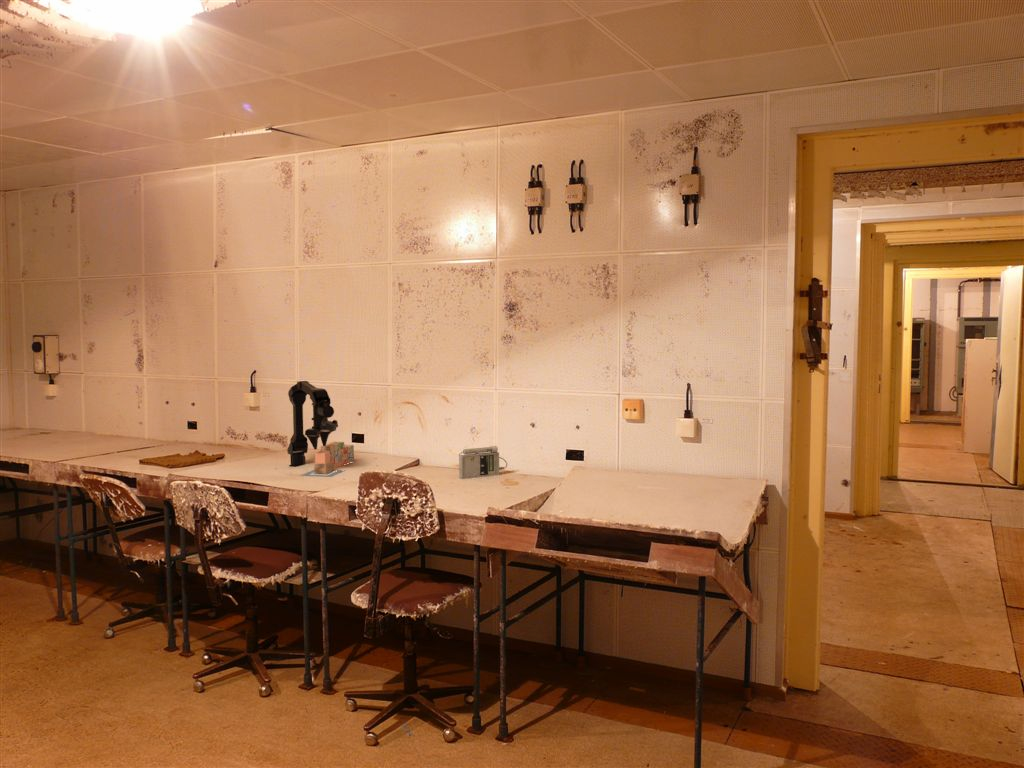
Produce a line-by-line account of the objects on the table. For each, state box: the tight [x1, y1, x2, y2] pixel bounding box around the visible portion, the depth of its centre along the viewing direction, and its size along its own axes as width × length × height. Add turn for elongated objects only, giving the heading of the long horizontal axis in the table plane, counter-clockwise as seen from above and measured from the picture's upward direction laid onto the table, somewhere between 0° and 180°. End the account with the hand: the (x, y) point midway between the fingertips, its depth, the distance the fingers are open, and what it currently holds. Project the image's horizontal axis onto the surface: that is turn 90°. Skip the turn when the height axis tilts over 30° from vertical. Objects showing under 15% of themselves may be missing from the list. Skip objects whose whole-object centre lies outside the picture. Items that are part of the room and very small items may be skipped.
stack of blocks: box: [319, 441, 355, 469], centre depth 400 cm, size 21×6×12 cm, turn 160°
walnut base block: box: [313, 462, 333, 474], centre depth 379 cm, size 6×6×5 cm
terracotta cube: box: [314, 450, 330, 464], centre depth 378 cm, size 5×5×5 cm
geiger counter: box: [458, 445, 508, 480], centre depth 373 cm, size 14×6×25 cm
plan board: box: [299, 469, 347, 478], centre depth 379 cm, size 16×16×1 cm
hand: (320, 447), depth 379 cm, fingers open, 9 cm apart
